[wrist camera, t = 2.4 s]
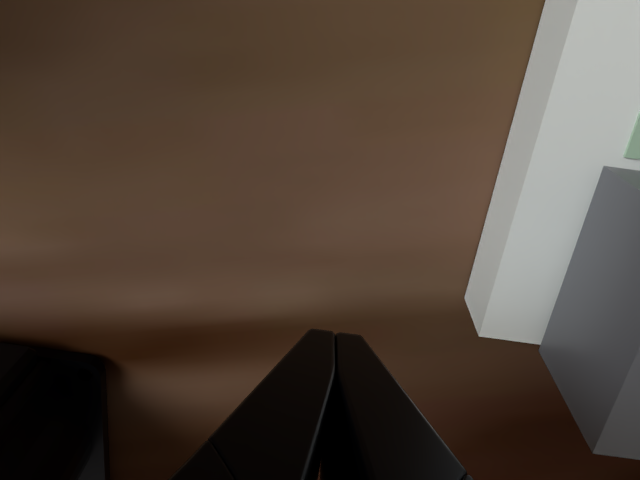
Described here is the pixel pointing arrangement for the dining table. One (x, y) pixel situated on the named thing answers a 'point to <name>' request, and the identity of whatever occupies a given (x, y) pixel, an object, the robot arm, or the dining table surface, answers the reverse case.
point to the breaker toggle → (602, 320)
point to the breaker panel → (556, 161)
